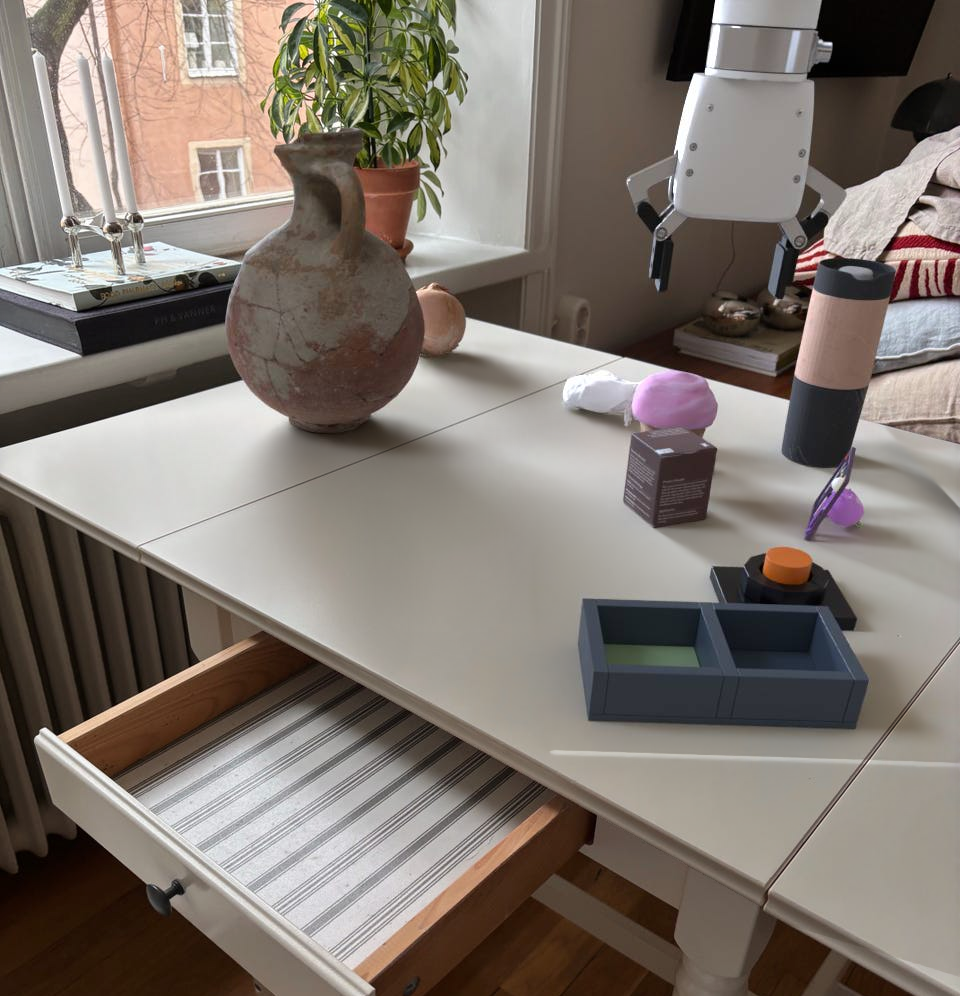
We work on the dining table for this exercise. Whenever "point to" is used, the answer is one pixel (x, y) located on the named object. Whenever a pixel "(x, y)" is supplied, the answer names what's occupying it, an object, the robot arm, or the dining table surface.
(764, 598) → the push button base
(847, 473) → the purple framed ornament
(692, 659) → the holder
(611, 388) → the bird figurine
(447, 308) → the onion
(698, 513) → the box
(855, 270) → the travel mug
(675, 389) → the cupcake
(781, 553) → the button
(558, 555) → the dining table surface
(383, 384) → the jug
